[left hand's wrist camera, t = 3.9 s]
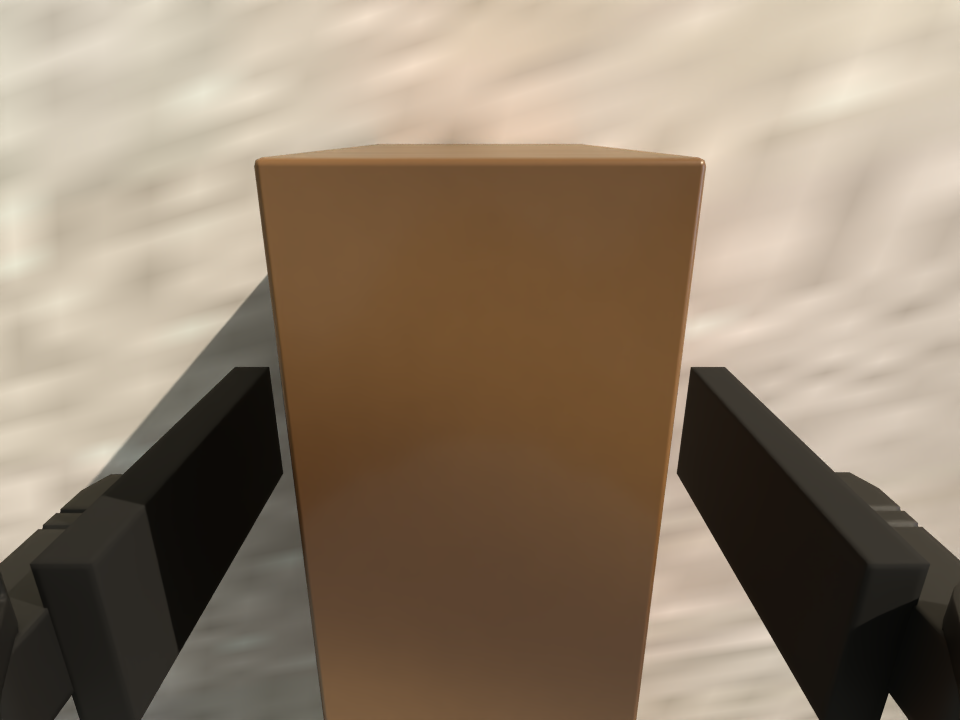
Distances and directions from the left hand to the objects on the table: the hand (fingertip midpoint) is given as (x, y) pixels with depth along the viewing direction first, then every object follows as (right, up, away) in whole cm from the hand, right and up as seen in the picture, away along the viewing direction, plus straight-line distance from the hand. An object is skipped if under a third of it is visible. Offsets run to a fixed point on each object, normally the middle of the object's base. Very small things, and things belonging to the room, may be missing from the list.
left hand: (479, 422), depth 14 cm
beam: (0, -27, +12) cm, 30 cm away
